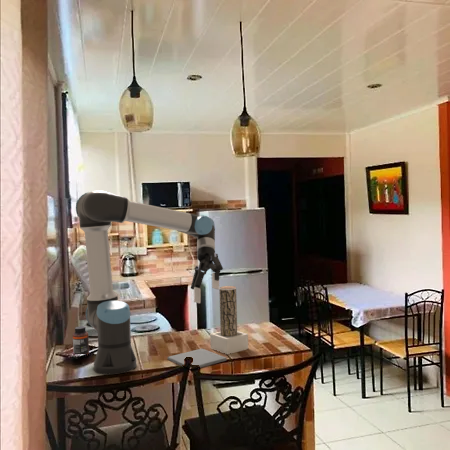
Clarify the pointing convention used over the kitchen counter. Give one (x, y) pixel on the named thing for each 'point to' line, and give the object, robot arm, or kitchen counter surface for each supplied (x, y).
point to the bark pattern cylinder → (228, 311)
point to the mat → (198, 358)
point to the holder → (229, 342)
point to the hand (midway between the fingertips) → (206, 295)
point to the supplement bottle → (80, 341)
